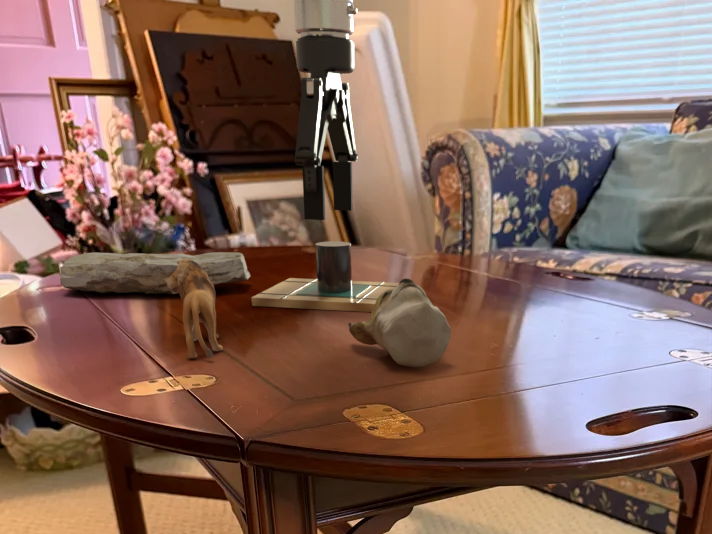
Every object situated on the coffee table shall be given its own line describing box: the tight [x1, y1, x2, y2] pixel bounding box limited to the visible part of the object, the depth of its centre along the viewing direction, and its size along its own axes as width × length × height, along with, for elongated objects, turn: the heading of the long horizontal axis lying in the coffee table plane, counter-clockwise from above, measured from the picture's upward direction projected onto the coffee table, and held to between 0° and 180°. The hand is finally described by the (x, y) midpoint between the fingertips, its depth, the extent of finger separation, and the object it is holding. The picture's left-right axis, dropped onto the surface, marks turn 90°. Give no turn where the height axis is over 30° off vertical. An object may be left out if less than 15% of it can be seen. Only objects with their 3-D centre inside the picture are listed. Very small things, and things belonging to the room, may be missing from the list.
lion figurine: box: [165, 259, 224, 359], centre depth 87 cm, size 15×5×9 cm, turn 22°
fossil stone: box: [59, 251, 251, 295], centre depth 118 cm, size 28×15×5 cm, turn 90°
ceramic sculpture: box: [348, 278, 452, 368], centre depth 84 cm, size 11×9×15 cm
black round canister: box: [315, 240, 353, 293], centre depth 112 cm, size 5×5×6 cm
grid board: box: [251, 277, 400, 313], centre depth 114 cm, size 20×16×1 cm
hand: (329, 214), depth 109 cm, fingers open, 13 cm apart
